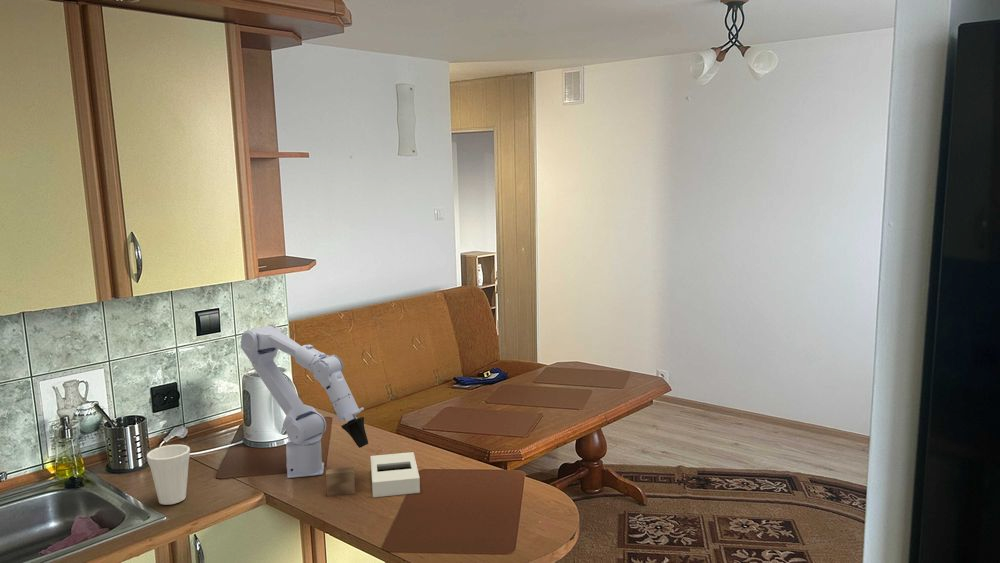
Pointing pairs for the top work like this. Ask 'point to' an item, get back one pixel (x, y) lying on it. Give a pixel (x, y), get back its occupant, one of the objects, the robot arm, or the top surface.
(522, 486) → the top surface
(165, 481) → the cup
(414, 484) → the slotted box
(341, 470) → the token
